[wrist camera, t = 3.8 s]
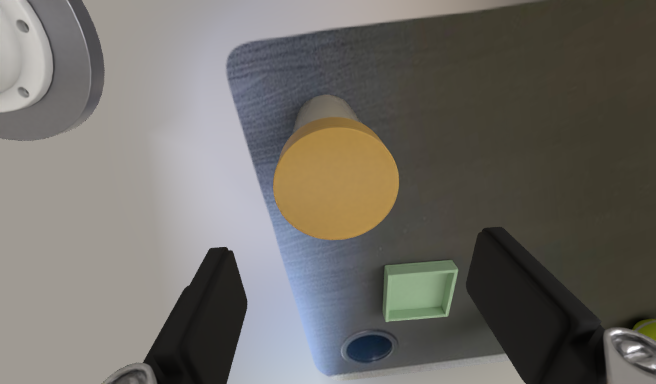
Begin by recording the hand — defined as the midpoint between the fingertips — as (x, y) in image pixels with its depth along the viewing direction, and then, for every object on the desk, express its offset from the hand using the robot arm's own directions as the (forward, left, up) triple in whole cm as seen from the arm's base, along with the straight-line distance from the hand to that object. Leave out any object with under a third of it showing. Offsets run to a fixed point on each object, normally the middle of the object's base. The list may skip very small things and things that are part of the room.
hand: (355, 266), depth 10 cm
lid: (0, 0, -7) cm, 7 cm away
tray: (+12, -25, -21) cm, 35 cm away
